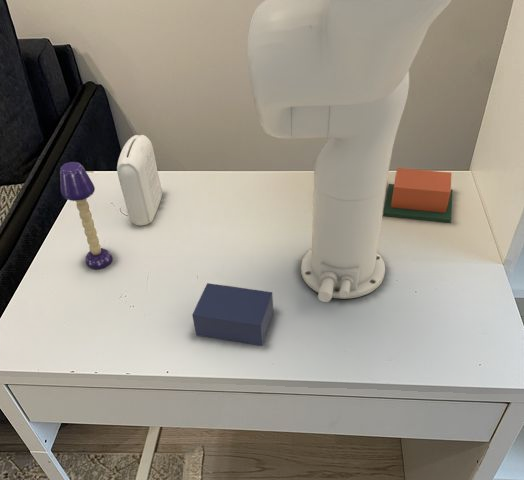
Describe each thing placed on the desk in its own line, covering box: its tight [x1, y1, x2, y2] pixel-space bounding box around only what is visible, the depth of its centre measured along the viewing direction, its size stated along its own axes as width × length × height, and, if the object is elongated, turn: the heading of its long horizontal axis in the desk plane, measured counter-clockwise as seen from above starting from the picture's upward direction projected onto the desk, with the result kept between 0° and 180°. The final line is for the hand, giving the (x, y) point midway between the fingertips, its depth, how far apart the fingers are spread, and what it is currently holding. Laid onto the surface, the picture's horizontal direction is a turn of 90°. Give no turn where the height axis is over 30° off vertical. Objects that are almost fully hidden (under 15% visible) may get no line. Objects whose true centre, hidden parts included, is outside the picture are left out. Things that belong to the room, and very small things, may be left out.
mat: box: [382, 183, 454, 224], centre depth 94 cm, size 9×11×1 cm
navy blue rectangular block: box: [191, 282, 274, 346], centre depth 75 cm, size 6×10×4 cm
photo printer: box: [116, 134, 163, 226], centre depth 92 cm, size 10×4×12 cm, turn 175°
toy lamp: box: [59, 161, 114, 270], centre depth 81 cm, size 5×5×17 cm
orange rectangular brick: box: [391, 167, 452, 213], centre depth 92 cm, size 6×9×4 cm, turn 76°
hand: (347, 5), depth 79 cm, fingers open, 9 cm apart
